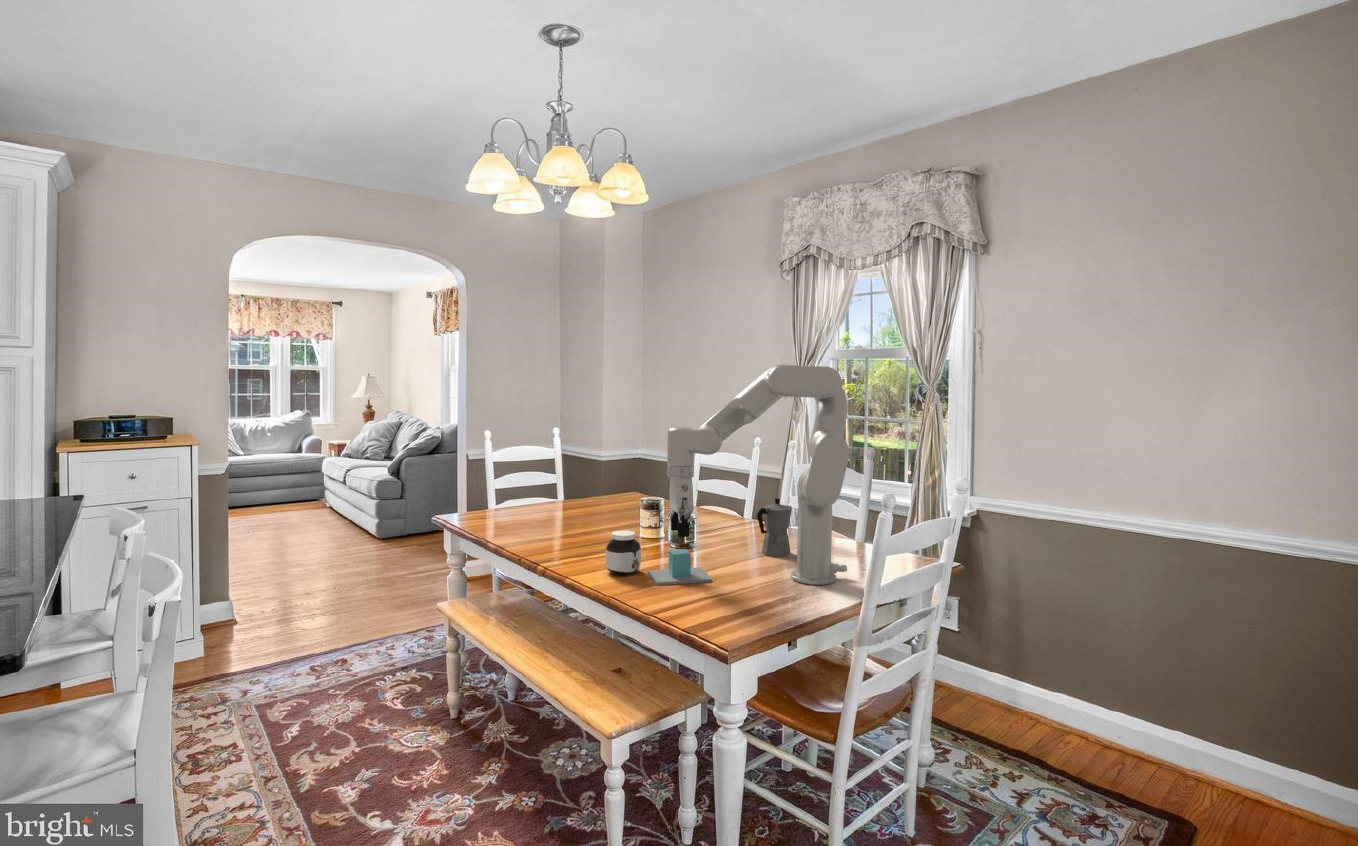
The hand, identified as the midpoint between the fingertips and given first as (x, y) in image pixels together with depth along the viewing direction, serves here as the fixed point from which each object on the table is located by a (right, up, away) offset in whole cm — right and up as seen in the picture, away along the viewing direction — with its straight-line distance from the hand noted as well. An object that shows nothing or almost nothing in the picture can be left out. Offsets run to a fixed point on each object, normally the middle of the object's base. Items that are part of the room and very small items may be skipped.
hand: (679, 532), depth 199 cm
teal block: (0, -12, +1) cm, 12 cm away
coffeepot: (+30, -11, +28) cm, 43 cm away
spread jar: (-17, -12, +7) cm, 22 cm away
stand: (0, -13, +1) cm, 13 cm away
